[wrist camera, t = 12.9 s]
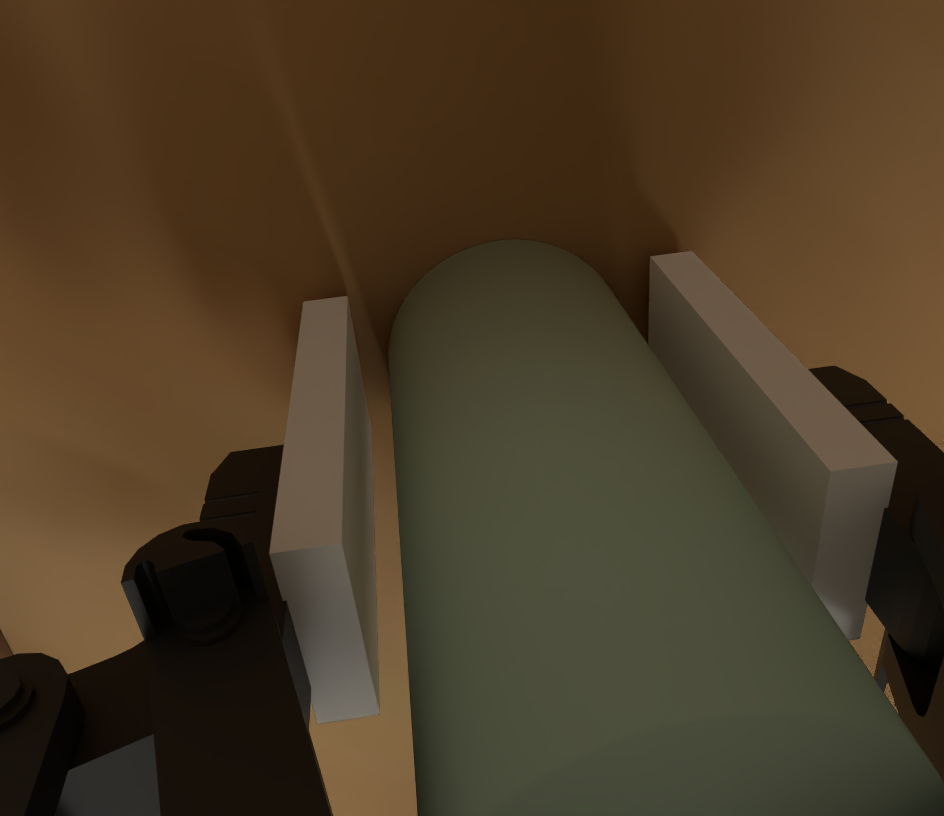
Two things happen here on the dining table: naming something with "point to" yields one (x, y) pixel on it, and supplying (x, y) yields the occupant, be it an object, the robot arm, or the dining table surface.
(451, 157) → the dining table surface
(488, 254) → the green wooden peg
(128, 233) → the dining table surface
